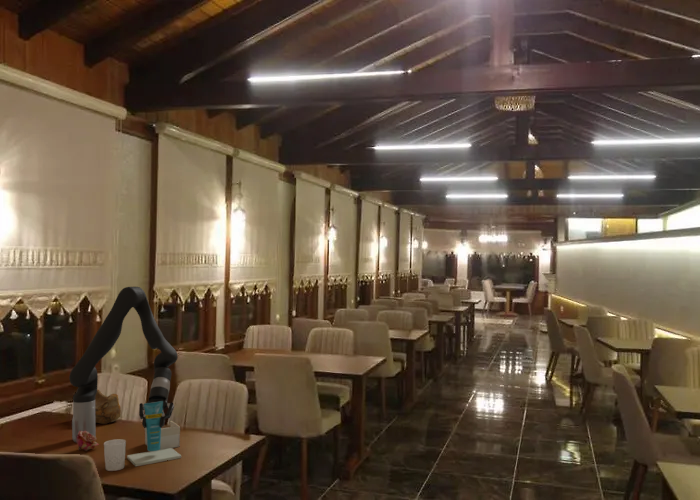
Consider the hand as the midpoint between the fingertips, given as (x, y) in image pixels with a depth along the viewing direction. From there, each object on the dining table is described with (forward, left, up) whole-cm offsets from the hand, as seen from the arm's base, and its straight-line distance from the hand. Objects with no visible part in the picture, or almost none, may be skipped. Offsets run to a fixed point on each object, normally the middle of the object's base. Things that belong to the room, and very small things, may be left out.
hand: (152, 426), depth 253 cm
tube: (+1, +2, -10) cm, 10 cm away
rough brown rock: (-7, +77, -13) cm, 79 cm away
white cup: (-15, -3, -13) cm, 20 cm away
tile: (+1, +1, -13) cm, 13 cm away
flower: (-19, +29, -13) cm, 38 cm away
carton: (+9, +17, -13) cm, 23 cm away
